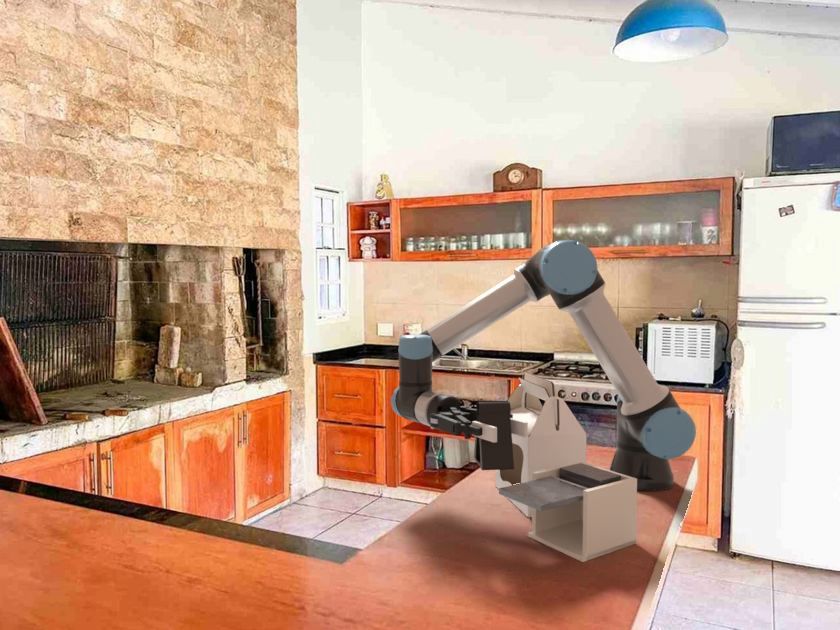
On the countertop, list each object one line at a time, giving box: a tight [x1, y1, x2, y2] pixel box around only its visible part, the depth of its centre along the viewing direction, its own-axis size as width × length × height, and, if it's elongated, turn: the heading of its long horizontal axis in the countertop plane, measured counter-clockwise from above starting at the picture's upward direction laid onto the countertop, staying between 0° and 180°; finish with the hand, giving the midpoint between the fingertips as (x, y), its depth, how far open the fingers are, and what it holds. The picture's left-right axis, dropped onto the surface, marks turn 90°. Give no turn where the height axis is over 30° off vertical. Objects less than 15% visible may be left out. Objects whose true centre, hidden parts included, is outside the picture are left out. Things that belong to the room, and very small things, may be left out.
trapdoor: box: [498, 463, 621, 511], centre depth 122 cm, size 21×11×4 cm, turn 124°
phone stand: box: [473, 400, 514, 471], centre depth 126 cm, size 9×6×12 cm, turn 5°
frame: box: [527, 462, 638, 563], centre depth 126 cm, size 14×14×12 cm
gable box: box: [494, 372, 588, 519], centre depth 149 cm, size 22×13×28 cm, turn 12°
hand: (510, 432), depth 121 cm, fingers closed on phone stand, 7 cm apart
